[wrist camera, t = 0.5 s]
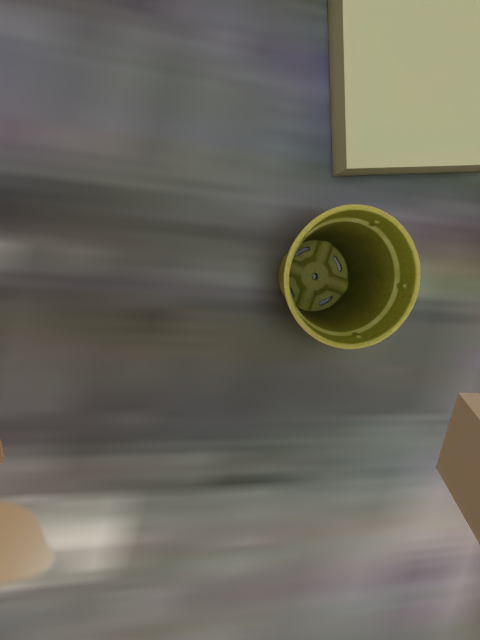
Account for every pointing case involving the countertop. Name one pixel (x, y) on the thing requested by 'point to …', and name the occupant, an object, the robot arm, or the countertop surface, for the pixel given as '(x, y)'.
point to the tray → (404, 86)
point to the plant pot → (351, 276)
